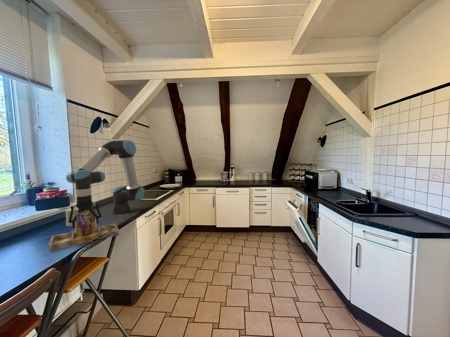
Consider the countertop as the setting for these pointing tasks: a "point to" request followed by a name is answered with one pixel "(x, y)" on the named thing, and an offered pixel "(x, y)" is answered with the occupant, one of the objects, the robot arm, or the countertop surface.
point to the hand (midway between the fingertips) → (86, 230)
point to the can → (69, 215)
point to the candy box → (85, 223)
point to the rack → (73, 238)
